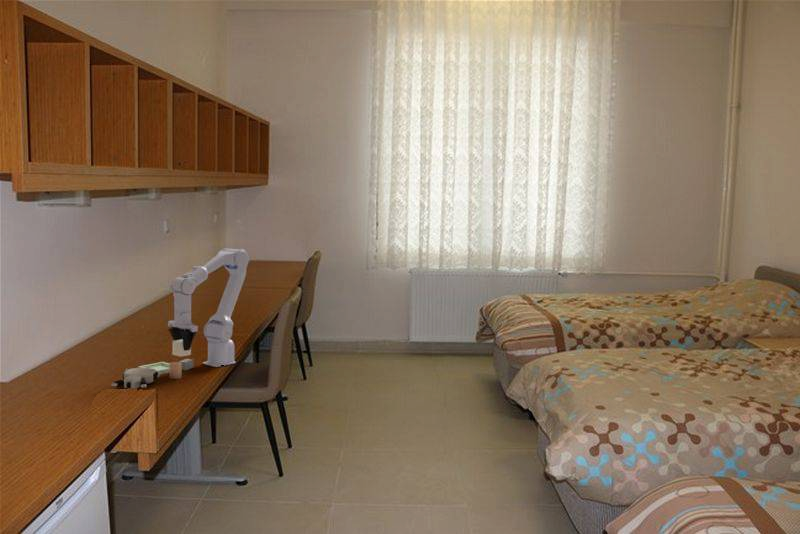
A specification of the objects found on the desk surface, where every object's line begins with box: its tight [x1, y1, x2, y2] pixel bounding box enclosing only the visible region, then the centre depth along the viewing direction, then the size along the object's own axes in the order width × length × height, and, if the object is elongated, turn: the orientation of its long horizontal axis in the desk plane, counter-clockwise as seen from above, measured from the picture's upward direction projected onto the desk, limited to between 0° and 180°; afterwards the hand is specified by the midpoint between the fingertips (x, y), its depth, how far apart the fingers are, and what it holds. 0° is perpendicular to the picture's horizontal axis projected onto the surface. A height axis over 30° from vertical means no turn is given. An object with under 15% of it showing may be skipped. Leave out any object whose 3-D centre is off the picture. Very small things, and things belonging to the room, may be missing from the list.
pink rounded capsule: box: [168, 361, 183, 380], centre depth 246 cm, size 4×4×5 cm
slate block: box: [178, 358, 195, 371], centre depth 259 cm, size 5×3×3 cm, turn 164°
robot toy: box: [111, 367, 162, 390], centre depth 234 cm, size 12×4×15 cm
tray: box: [137, 361, 170, 376], centre depth 254 cm, size 10×10×1 cm
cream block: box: [171, 339, 192, 357], centre depth 252 cm, size 4×4×5 cm
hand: (182, 348), depth 252 cm, fingers closed on cream block, 4 cm apart
